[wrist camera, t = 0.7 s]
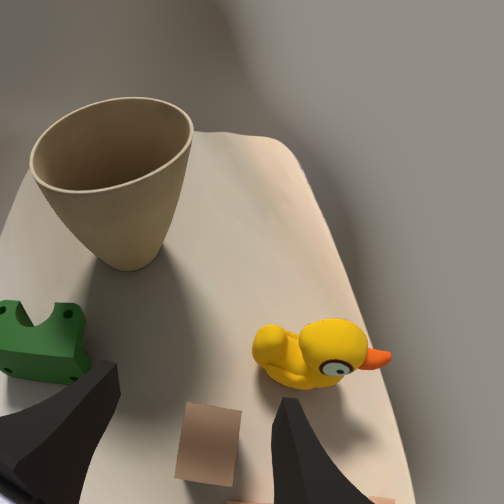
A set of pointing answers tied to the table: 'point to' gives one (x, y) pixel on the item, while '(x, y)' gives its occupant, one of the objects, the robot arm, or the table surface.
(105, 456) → the table surface
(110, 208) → the plant pot
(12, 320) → the clamp
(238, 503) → the pink rectangular tray
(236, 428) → the tan wooden block
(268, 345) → the duckling
